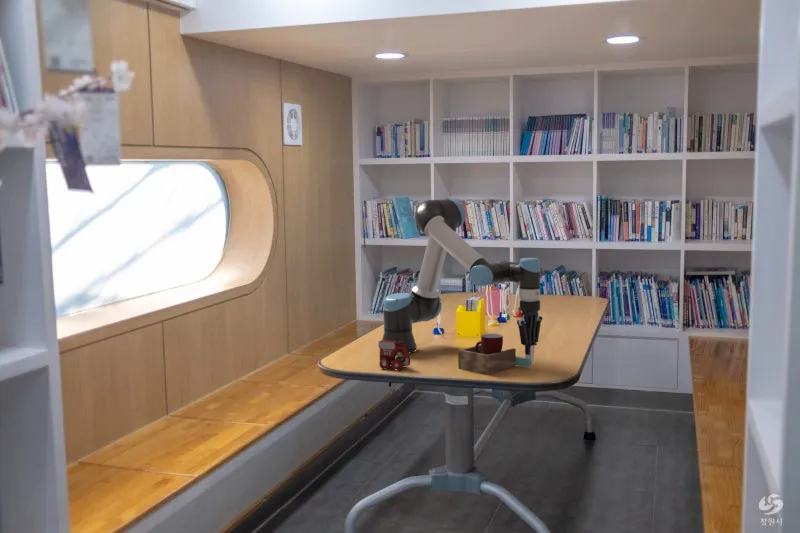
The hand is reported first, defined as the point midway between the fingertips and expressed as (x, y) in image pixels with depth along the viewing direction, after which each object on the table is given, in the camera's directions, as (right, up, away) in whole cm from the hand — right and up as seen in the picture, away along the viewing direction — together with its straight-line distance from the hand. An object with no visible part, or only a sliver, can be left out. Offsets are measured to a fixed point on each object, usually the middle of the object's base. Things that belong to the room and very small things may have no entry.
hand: (529, 362), depth 297 cm
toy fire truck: (-50, -3, +4) cm, 51 cm away
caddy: (-16, -2, +1) cm, 16 cm away
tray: (-13, -2, 0) cm, 13 cm away
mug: (-15, 0, +2) cm, 15 cm away
